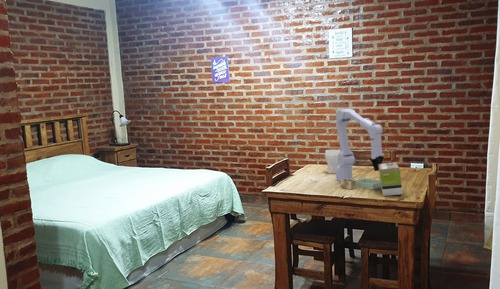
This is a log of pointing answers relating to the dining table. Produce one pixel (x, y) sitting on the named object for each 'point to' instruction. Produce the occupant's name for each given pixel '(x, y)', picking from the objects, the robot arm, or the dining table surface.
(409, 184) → the dining table surface
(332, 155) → the beige flared cylinder
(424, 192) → the dining table surface
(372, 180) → the tray
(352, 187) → the pine crate
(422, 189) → the dining table surface
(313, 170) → the dining table surface
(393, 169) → the tea box
